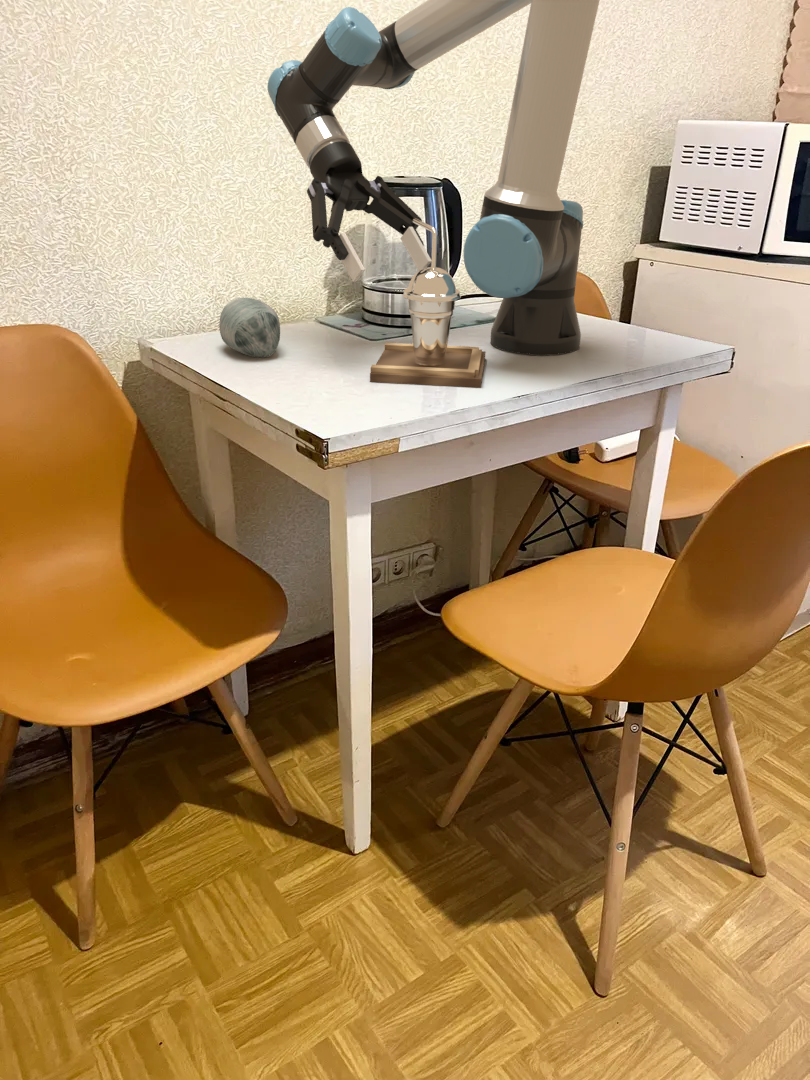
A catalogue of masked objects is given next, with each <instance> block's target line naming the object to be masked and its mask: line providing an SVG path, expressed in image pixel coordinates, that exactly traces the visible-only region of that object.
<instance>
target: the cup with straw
mask: <svg viewBox="0 0 810 1080" xmlns="http://www.w3.org/2000/svg"><path fill="white" fill-rule="evenodd" d="M413 223H415V224H417V225H419V226H418V227H420V228H423V229H425V230H427V231H429V232H431V260H432V262H431V263H430V264H431V266H430V267H429V266H427V268H423V269H421V270H418V271H417V272H415V273H414V274H413V276H412V277H411V279H410V281H409V283H408V287H406V288H405V289H404V290H403V294H402V297H403V298H404V299H406V300H407V303H408V306H407V307H408V310H409V315H410V320H411V321H410V322H411V333H412V344H413V347H414V355H415V363H416V364H418V365H422V366H439V365H443V364H444V363H445V361H444V358H445V356H446V351H447V346H448V344H449V343H448V341H449V336H450V331H451V323H452V317H453V315H454V310H455V307H456V301H458V300H460V299H461V297H462V296H461V291H460V290H459V289H457V285H456V284H455V282H454V279H453V277H452V275H450V273H449V272H448V271H446V270H445V269H443V268H441V267H437V252H438V251H437V250H438V249H437V248H438V232H437V228H435V227H434V226H432V225H431V224H428V223H426V222H424V221H423V220H422V221H420V220H418V219H416V218H414V219H413Z"/></svg>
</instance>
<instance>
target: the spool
mask: <svg viewBox="0 0 810 1080" xmlns="http://www.w3.org/2000/svg"><path fill="white" fill-rule="evenodd" d="M218 325H219V326H218V328H219V334H220V337H221V339H222V341H223V342H224V344H226V346H228V347H229V348H231V349H232V350H234V351H236V352H238V353H241V354H243V355H245V356H249V357H251V358H258V359H259V358H268V357H270V356H272V355H273V354H274V353H275V352H276V350H277V348H278V346H279V343H280V340H281V337H280V336H281V323H280V318H279V316H278V314H277V312H276V310H275V309H274V308H273V307H272V306H271V305H269V304H268V303H266V302H263V301H261V300H259V299H256V298H252V297H238V298H235V299H233V300H230V301H229V302H228V303H227V304H226V305H225V306H224V307H223V309H222V311H221V313H220V316H219V322H218Z"/></svg>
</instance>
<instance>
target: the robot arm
mask: <svg viewBox="0 0 810 1080" xmlns="http://www.w3.org/2000/svg"><path fill="white" fill-rule="evenodd" d="M599 4H600V0H426V1H424V2H423V3H421V4H420V5H419V6H417V7H415V8H413V9H412V10H410V11H409V12H407V13H406V14H404V15H403V16H401V17H400V18H398V19H397V20H396V21H394V22H392V23H391V24H389V25H388V26H386V27H383V28H382V29H381V30H380V31H379V30H378V28H377V27H376V26H375V24H374V23H373V22H372V21H371V19H369V18H368V17H367V15H365V14H364V13H363V12H361V11H359V10H358V9H357V8H354V7H351V6H347V7H344V8H342V9H341V10H340V11H339V12H338V14H337V15H336V16H335V17H334V18H333V20H331V21H330V22H329V23H328V24H327V26H326V27H325V30H324V31H323V33H321V35H320V37H319V38H318V40H317V41H316V42H315V43H314V45H313V47H312V48H311V49H310V51H309V52H308V54H307V55H306V56H305V58H304V59H303V61H301V60H296V59H295V60H293V59H292V60H288V61H284V62H283V63H282V64H281V66H280V67H276V68H275V69H274V70H272V72H271V74H270V76H269V78H268V81H267V87H266V88H267V93H268V96H269V98H270V100H271V102H272V104H273V106H274V110H275V112H276V113H277V117H279V118H280V119H281V121H282V123H283V124H284V126H285V128H286V130H287V131H288V133H289V135H290V137H291V138H292V140H293V143H294V144H295V146H296V148H297V150H298V151H299V153H300V155H301V157H302V159H303V161H304V163H305V164H306V166H307V168H308V169H309V172H310V174H311V176H312V177H313V179H312V181H311V183H310V184H309V186H308V188H307V190H306V194H307V196H308V198H309V201H310V208H311V221H312V222H311V226H312V236H313V237H312V238H313V240H314V241H315V242H321V241H322V245H323V246H324V248H326V249H327V248H330V247H331V249H332V251H333V253H334V256H336V258H337V259H338V260H339V261H341V262H342V264H343V266H344V268H345V270H346V271H347V273H348V275H349V277H350V278H351V280H352V282H358V281H359V279H360V278H361V276H362V275H363V274H364V272H365V271H366V268H365V267H364V265H363V263H362V261H361V259H360V257H359V255H358V254H357V251H356V249H355V248H354V246H353V245H352V242H351V241H350V239H349V237H348V235H347V234H346V232H340V231H341V225H342V221H343V218H344V214H345V211H346V212H352V211H363V212H365V213H366V214H368V215H369V214H370V215H371V214H372V215H374V216H376V217H377V218H378V219H379V220H381V221H382V222H384V223H385V224H386V225H388V226H390V228H392V229H394V230H395V231H396V232H397V233H399V234H400V235H401V237H400V240H401V242H402V244H403V246H404V247H405V249H406V250H407V252H408V254H409V257H410V258H411V260H412V262H413V263H414V265H415V266H416V269H417V270H418V271H419V270H421V269H423V268H427V267H429V265H430V264H431V262H432V257H430V255H429V253H428V252H427V249H426V248H425V244H424V241H423V240H422V237H421V236H420V234H419V233H418V230H417V229H418V227H420V226H419V225H417V224H415V223H413V219H414V218H416V219H418V220H420V221H422V222H423V220H422V218H421V217H420V216H419V215H418V214H417V213H416V212H415V211H414V210H413V209H412V208H411V207H410V206H409V205H408V204H406V202H404V201H403V199H401V197H399V196H398V195H397V194H396V193H395V192H394V191H393V190H392V189H391V188H390V187H389V186H388V185H387V183H386V181H385V179H383V177H382V176H380V175H376V177H375V179H372V180H369V179H367V178H366V177H365V176H364V174H363V170H362V169H363V166H362V165H363V164H362V161H361V160H360V157H359V156H358V154H357V152H356V151H355V149H354V147H353V146H352V144H351V142H350V140H349V137H348V136H347V134H346V132H345V131H344V129H343V127H342V126H341V124H340V122H339V120H338V119H337V117H336V115H335V112H334V111H333V109H334V108H335V107H336V105H337V104H339V102H341V100H342V99H343V97H344V96H345V95H346V94H347V93H348V91H349V90H350V89H351V87H353V86H357V87H358V86H359V87H370V88H371V87H372V88H380V89H383V90H393V89H397V88H401V87H403V86H405V85H407V84H409V82H410V81H411V80H412V78H413V76H414V75H415V72H417V71H418V70H420V69H421V68H423V67H424V66H427V65H429V64H430V63H432V62H433V61H434V60H437V59H438V58H440V57H442V56H444V55H446V54H447V53H448V52H450V51H452V50H453V49H455V48H457V47H459V46H461V45H463V44H464V43H466V42H467V41H469V40H471V39H473V38H474V37H476V36H478V35H479V34H481V33H483V32H484V31H486V30H488V29H489V28H491V27H493V26H495V25H496V24H498V23H500V22H501V21H503V20H505V19H506V18H508V17H510V16H511V15H514V14H515V13H516V12H519V11H520V10H522V9H524V8H525V7H527V6H529V5H530V7H529V12H528V18H527V23H526V29H525V33H524V40H523V43H522V44H523V45H522V50H521V55H520V61H519V65H518V71H517V77H516V83H515V88H514V93H513V98H512V102H511V103H512V104H511V107H510V113H509V120H508V124H507V129H506V136H505V140H504V145H503V146H504V147H503V151H502V157H501V163H500V168H499V172H498V176H497V181H496V182H495V184H494V185H492V186H491V187H489V188H488V189H487V190H486V191H485V192H484V196H483V201H482V206H481V211H480V218H479V220H478V222H476V223H475V224H474V225H473V227H472V228H471V229H470V231H469V232H468V234H467V236H466V238H465V241H464V246H463V262H464V267H465V270H466V273H467V274H468V276H469V278H470V279H471V281H472V282H473V284H474V285H475V286H476V288H477V289H479V291H481V292H483V293H485V294H486V295H489V296H491V297H494V298H497V299H498V298H499V299H502V301H501V303H500V306H499V308H498V311H497V314H496V315H495V319H494V321H493V324H492V327H491V330H490V344H491V345H492V346H493V347H494V348H496V349H499V350H501V351H502V350H503V351H506V352H511V353H515V354H521V355H522V354H523V355H535V356H536V355H537V356H539V355H540V356H550V355H551V356H552V355H563V354H569V353H573V352H575V351H577V350H578V349H580V345H581V336H582V334H581V328H580V323H579V319H578V313H577V309H576V304H575V294H576V285H577V284H576V283H577V276H578V275H577V274H578V268H579V267H578V266H579V258H580V248H581V239H582V237H581V236H582V230H583V228H584V221H583V218H584V217H583V216H584V209H583V207H582V205H581V204H580V203H579V202H577V201H574V200H573V201H572V200H567V199H561V198H560V196H559V194H558V188H559V184H560V183H559V182H560V179H561V173H562V170H563V165H564V161H565V157H566V152H567V149H568V144H569V138H570V135H571V130H572V126H573V125H572V124H573V121H574V116H575V113H576V107H577V103H578V99H579V93H580V89H581V85H582V80H583V76H584V71H585V67H586V63H587V62H586V61H587V58H588V53H589V49H590V45H591V41H592V36H593V32H594V31H593V30H594V26H595V22H596V18H597V13H598V9H599ZM326 197H327V198H328V199H329V200H331V201H332V204H331V208H330V209H331V210H330V215H329V220H328V218H327V215H328V214H327V201H326ZM370 197H371V198H372V200H371V202H370V203H369V201H370V199H371V198H370ZM368 203H369V204H368Z"/></svg>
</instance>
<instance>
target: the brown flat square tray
mask: <svg viewBox="0 0 810 1080" xmlns="http://www.w3.org/2000/svg"><path fill="white" fill-rule="evenodd" d="M444 361H445V363H444V364H443V365H439V366H422V365H418V364H416V363H415V355H414V347H413V343H399V342H385V344H384V350H383V352H382V353H381V355H380V357H379V358H378V360H377V361H376V363H375V364H371V366H370V373H369V383H370V382H371V383H386V384H405V385H406V384H407V385H422V386H423V385H425V386H440V387H441V386H445V387H463V388H480V389H481V386H482V382H483V374H484V367H485V364H486V351H483V349H480V347H479V346H468V345H467V346H465V345H462V346H461V345H447V351H446V356H445V358H444Z"/></svg>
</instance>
